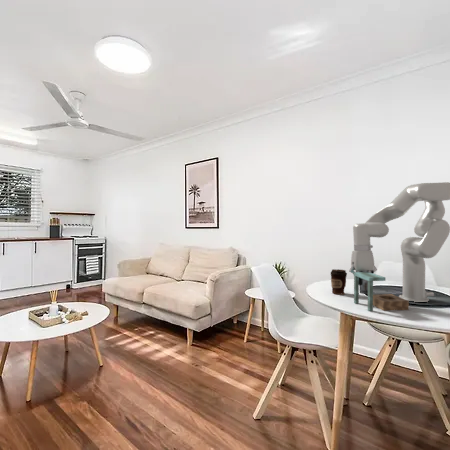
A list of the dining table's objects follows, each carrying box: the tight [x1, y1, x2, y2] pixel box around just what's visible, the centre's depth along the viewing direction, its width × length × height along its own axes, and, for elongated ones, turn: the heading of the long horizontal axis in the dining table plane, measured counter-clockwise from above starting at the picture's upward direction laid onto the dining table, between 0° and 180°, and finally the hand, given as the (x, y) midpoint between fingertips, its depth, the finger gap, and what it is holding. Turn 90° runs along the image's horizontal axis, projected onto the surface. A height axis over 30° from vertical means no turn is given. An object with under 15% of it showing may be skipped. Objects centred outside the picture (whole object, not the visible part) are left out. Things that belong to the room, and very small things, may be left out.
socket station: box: [353, 271, 410, 312], centre depth 133 cm, size 19×13×15 cm
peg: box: [359, 271, 368, 295], centre depth 143 cm, size 4×4×12 cm
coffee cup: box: [330, 268, 348, 296], centre depth 157 cm, size 9×8×13 cm
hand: (363, 284), depth 143 cm, fingers closed on peg, 4 cm apart
